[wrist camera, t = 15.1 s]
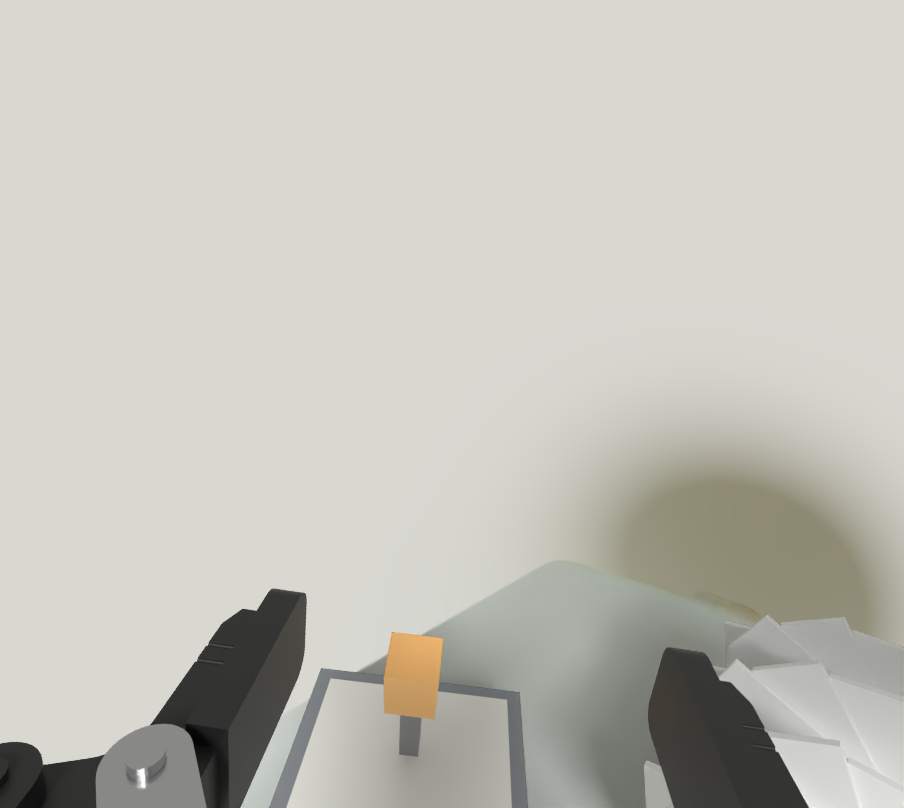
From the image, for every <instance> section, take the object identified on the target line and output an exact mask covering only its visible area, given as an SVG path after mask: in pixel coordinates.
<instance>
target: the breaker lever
mask: <svg viewBox="0 0 904 808" xmlns="http://www.w3.org/2000/svg"><path fill="white" fill-rule="evenodd" d="M442 648H443V638H437V637H429V636H420V635H412V634H403V633H395V632H392V635H391V640H390V646H389V651H388V656H387V661H386V667H385V672H384V713H386V714H395V715H400V735H399V755H407V756H415V757H418V752H419V744H420V735H421V722H422V718H427V719H435V713H436V704H437V695H438V686H439V676H440V667H441V657H442Z"/></svg>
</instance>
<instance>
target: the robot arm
mask: <svg viewBox="0 0 904 808" xmlns="http://www.w3.org/2000/svg"><path fill="white" fill-rule="evenodd" d="M306 603H307V602H306V594H305V593H300V592H293V591H287V590H280V589H271V590H270V591H269V592H268V594H267V595H266V597H265V599H264V600H263V602H262V603H261V605H260V606H259V608H258V610H257V611H254V610H247V609H242V610H240V611H239V612H238V613H236V614H235V615H233V616H232V617H231V618H229V619H228V620H226V621H225V622H223V623H222V624H221V626H220V627H219V629H218V630H217V631H216V633H215V634H214V636H213V637H212V639H211V640H210V641H209V644H208V646H206V647H205V649H204V650H203V651H202V653H201V654H200V656H199V657H198V660H197V662H195V663H194V664H193V665H192V667H191V668H190V670H189V671H188V673H187V674H186V675H185V677H184V678H183V680H182V681H181V683H180V684H179V685H178V687H177V688H176V690H175V691H174V692H173V694H172V695H171V697H170V698H169V700H168V701H167V702H166V704H165V705H164V707H163V708H162V709H161V711H160V713H159V714H158V715H157V717H156V718H155V719H154V721H153V722H152V723H151V725H150V726H147V727H143V728H141V729H138V730H136V731H134V732H132V733H130V734H128V735H126V736H125V737H123V738H122V739H120V740H119V741H118V742H117V743H116V744H114V745H113V746H112V747H111V748H110V749H109V750H108V752H107V753H106V754H105V755H102V756H99V757H94V758H88V759H82V760H75V761H68V762H61V763H55V764H48V765H43V762H42V757H41V754H40V752H39V751H38V749H36V748H35V747H34V746H32V745H30V744H27V743H22V742H8V743H2V744H0V808H240V807H241V805H242V803H243V800H244V798H245V796H246V794H247V791H248V789H249V787H250V785H251V782H252V780H253V778H254V776H255V773H256V771H257V769H258V767H259V764H260V762H261V760H262V758H263V755H264V753H265V751H266V749H267V746H268V744H269V742H270V740H271V737H272V735H273V733H274V731H275V728H276V726H277V724H278V722H279V719H280V717H281V715H282V713H283V710H284V708H285V706H286V704H287V701H288V699H289V697H290V695H291V692H292V690H293V688H294V686H295V683H296V681H297V679H298V676H299V673H300V670H301V666H302V662H303V657H304V650H305V649H304V648H305V626H306ZM648 720H649V729H650V733H651V737H652V740H653V743H654V746H655V750H656V753H657V756H658V759H659V762H660V765H661V769H662V772H663V775H664V778H665V781H666V784H667V787H668V791H669V794H670V797H671V800H672V803H673V806H674V808H809V807H808V805H807V803H806V801H805V799H804V798H803V796H802V794H801V792H800V790H799V789H798V787H797V785H796V783H795V781H794V779H793V778H792V776H791V774H790V772H789V770H788V769H787V767H786V765H785V763H784V761H783V760H782V758H781V756H780V754H779V752H776V750H775V745H774V743H773V742H772V740H771V738H770V736H769V734H768V733H767V732H765V730H764V725H763V723H762V722H761V720H760V718H759V716H758V714H757V713H756V711H755V709H754V707H753V705H752V704H751V703H750V702H749V701H748V700H747V699H746V697H745V696H744V695H743V694H742V693H741V692H740V691H739V690H738V689H737V688H736V687H735V686H734V685H733V684H732V683H731V682H726V681H720V680H719V678H718V676H717V674H716V672H715V670H714V668H713V666H712V664H711V662H710V660H709V658H708V657H707V655H706V654H705V653H703V652H697V651H690V650H683V649H676V648H670V647H669V648H666V650H665V651H664V653H663V656H662V659H661V663H660V667H659V670H658V674H657V677H656V681H655V684H654V688H653V691H652V695H651V698H650V702H649V710H648Z"/></svg>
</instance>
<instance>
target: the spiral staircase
mask: <svg viewBox="0 0 904 808" xmlns="http://www.w3.org/2000/svg"><path fill="white" fill-rule="evenodd" d="M724 626H725V642H726V658H727V667H726V668H723V667H718V666H713V665H712V666H713V668H714V670H715V672H716V674H717V676H718V678H719V680H720V681H726V682H731V683H732V684H733V685H734V686H735V687H736V688H737V689H738V690H739V691H740V692H741V693H742V694H743V695H744V696H745V697H746V699H747V700H748V701H749V702H750V703H751V704H752V705H753V707H754V709H755V711H756V713H757V714H758V716H759V718H760V720H761V722H762V723H763V725H764V730H765V732H767V733H768V734H769V736H770V738H771V740H772V742H773V743H774V745H775V750H776V752H779V754H780V756H781V758H782V760H783V761H784V763H785V765H786V767H787V769H788V770H789V772H790V774H791V776H792V778H793V779H794V781H795V783H796V785H797V787H798V789H799V790H800V792H801V794H802V796H803V798H804V799H805V801H806V803H807V805H808V807H809V808H904V647H902V646H899V645H896V644H893V643H890V642H887V641H884V640H882V639H879V638H876V637H873V636H870V635H867V634H864V633H861V632H858V631H855V630H853V631H852V632H851V629H850V627H849V625H848V623H847V621H846V619H845V617H840V618H828V619H816V620H803V621H791V622H781V625H779V624H778V623H776V622H775V621H774V620H773V619H772V618H771V617H769V615H766V616H765V617H763V618H762V619H761V620H760V621H758V622H757V623H756V624H755V625H753V626H748V625H743V624H738V623H734V622H729V621H725V623H724ZM644 779H645V798H646V808H674V806H673V803H672V800H671V797H670V794H669V791H668V787H667V784H666V781H665V778H664V775H663V772H662V769H661V766H659V765H657V764H655V763H652V762H650V761H648V760H646V762H645V764H644Z"/></svg>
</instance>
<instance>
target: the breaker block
mask: <svg viewBox="0 0 904 808" xmlns="http://www.w3.org/2000/svg"><path fill="white" fill-rule="evenodd" d="M399 735H400V715H395V714H386V713H384V676H381V675H373V674H364V673H356V672H348V671H340V670H331V669H323V668H321V670H320V673H319V676H318V678H317V681H316V684H315V687H314V689H313V692H312V694H311V697H310V700H309V702H308V705H307V708H306V710H305V713H304V716H303V718H302V721H301V724H300V727H299V729H298V732H297V735H296V737H295V740H294V743H293V745H292V748H291V751H290V753H289V756H288V759H287V761H286V764H285V767H284V769H283V772H282V775H281V777H280V780H279V783H278V786H277V788H276V791H275V794H274V796H273V799H272V802H271V804H270V807H269V808H528V802H527V788H526V774H525V760H524V747H523V733H522V719H521V705H520V692H513V691H505V690H497V689H488V688H480V687H472V686H464V685H455V684H447V683H439V686H438V695H437V704H436V713H435V719H427V718H422V722H421V735H420V744H419V752H418V757H415V756H407V755H399Z"/></svg>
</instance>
